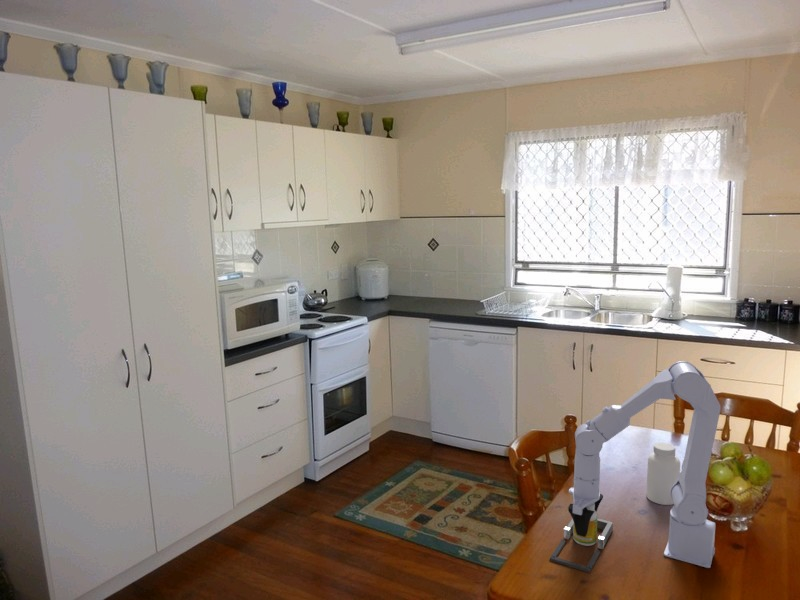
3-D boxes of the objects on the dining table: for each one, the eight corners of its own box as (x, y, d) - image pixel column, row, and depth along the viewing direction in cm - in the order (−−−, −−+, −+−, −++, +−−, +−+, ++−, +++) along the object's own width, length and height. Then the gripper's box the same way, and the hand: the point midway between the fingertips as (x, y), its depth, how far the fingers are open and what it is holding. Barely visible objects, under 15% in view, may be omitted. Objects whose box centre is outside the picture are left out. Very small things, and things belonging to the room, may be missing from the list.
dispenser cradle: (612, 529, 148) (613, 520, 148) (602, 549, 140) (603, 539, 140) (575, 519, 153) (575, 511, 153) (563, 538, 145) (563, 528, 145)
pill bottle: (645, 503, 161) (648, 449, 158) (646, 489, 168) (648, 438, 165) (678, 508, 158) (682, 454, 155) (677, 494, 165) (680, 442, 162)
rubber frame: (600, 553, 139) (600, 550, 138) (589, 572, 132) (589, 570, 131) (561, 542, 143) (561, 539, 143) (549, 560, 136) (549, 557, 136)
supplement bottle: (597, 547, 141) (599, 509, 139) (573, 545, 142) (575, 507, 140) (595, 534, 146) (596, 497, 144) (572, 532, 147) (573, 495, 145)
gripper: (579, 460, 149) (577, 511, 152) (560, 484, 137) (558, 538, 140) (608, 466, 145) (606, 518, 148) (591, 491, 133) (589, 547, 136)
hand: (585, 529), depth 143 cm, fingers open, 5 cm apart
